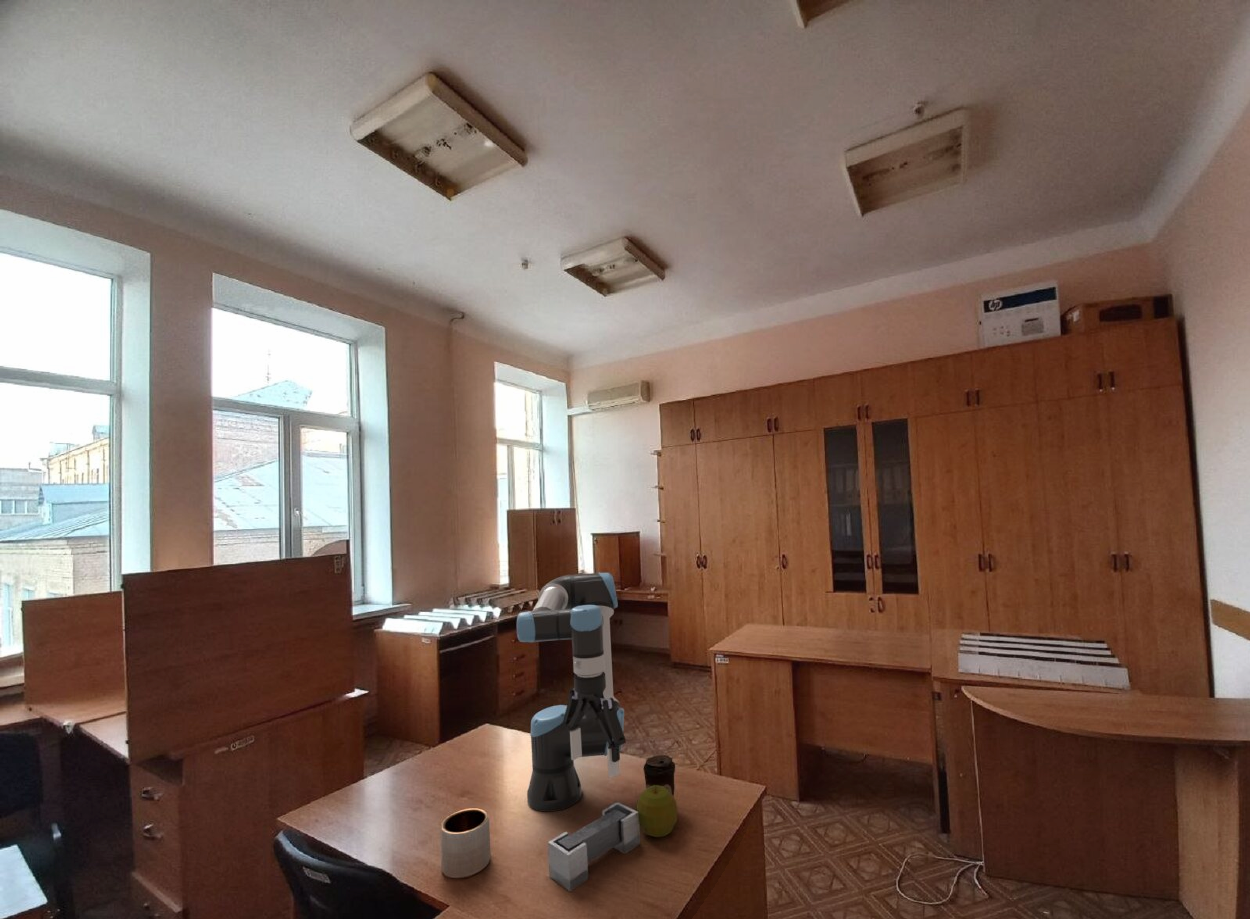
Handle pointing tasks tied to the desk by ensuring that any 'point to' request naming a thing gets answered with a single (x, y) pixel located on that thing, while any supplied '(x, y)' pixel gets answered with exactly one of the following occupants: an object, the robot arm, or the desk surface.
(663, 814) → the apple
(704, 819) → the desk surface
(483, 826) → the planter
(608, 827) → the rail
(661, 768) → the coffee cup
